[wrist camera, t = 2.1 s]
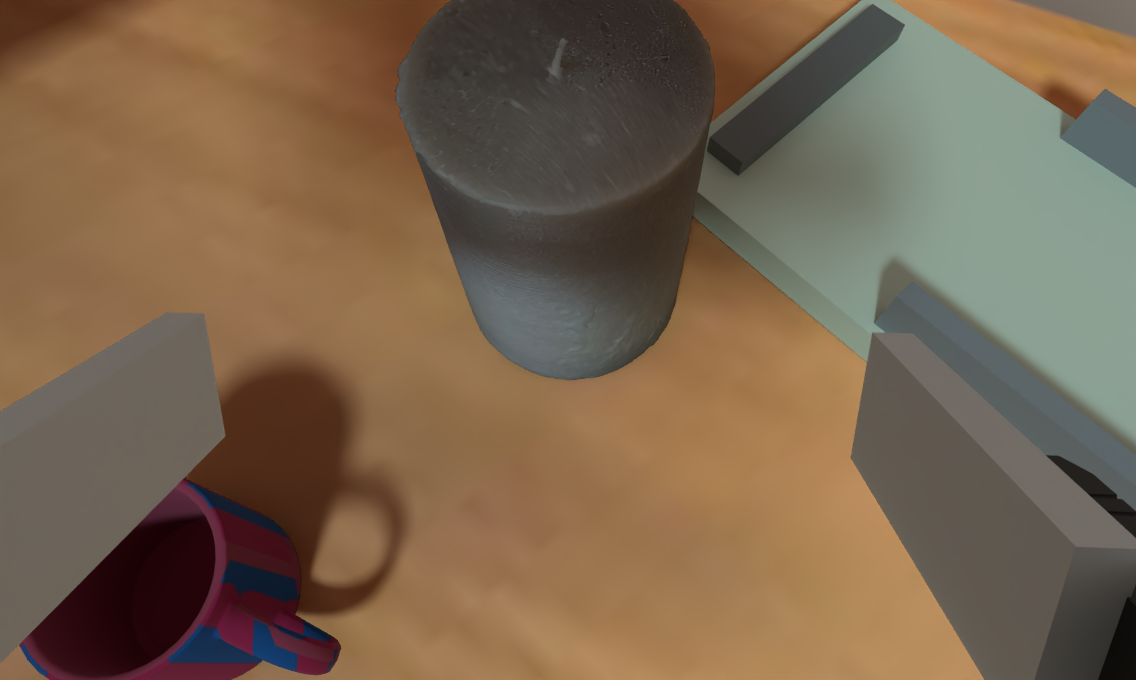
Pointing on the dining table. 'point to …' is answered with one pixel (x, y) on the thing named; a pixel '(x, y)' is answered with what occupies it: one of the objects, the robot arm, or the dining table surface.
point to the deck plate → (946, 222)
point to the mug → (185, 601)
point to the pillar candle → (563, 167)
